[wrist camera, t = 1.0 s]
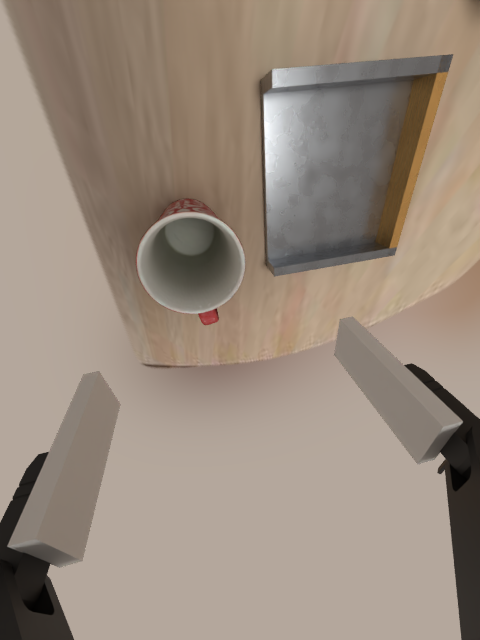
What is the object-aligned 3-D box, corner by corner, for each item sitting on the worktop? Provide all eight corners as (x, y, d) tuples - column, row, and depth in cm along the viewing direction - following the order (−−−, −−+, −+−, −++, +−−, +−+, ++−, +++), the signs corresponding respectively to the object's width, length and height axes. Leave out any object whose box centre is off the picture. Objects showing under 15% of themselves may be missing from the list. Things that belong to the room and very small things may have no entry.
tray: (260, 79, 25) (272, 69, 21) (420, 66, 26) (453, 54, 23) (266, 265, 36) (274, 276, 33) (376, 246, 38) (394, 255, 35)
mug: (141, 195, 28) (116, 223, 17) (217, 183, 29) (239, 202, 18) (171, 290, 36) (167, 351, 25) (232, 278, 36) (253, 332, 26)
